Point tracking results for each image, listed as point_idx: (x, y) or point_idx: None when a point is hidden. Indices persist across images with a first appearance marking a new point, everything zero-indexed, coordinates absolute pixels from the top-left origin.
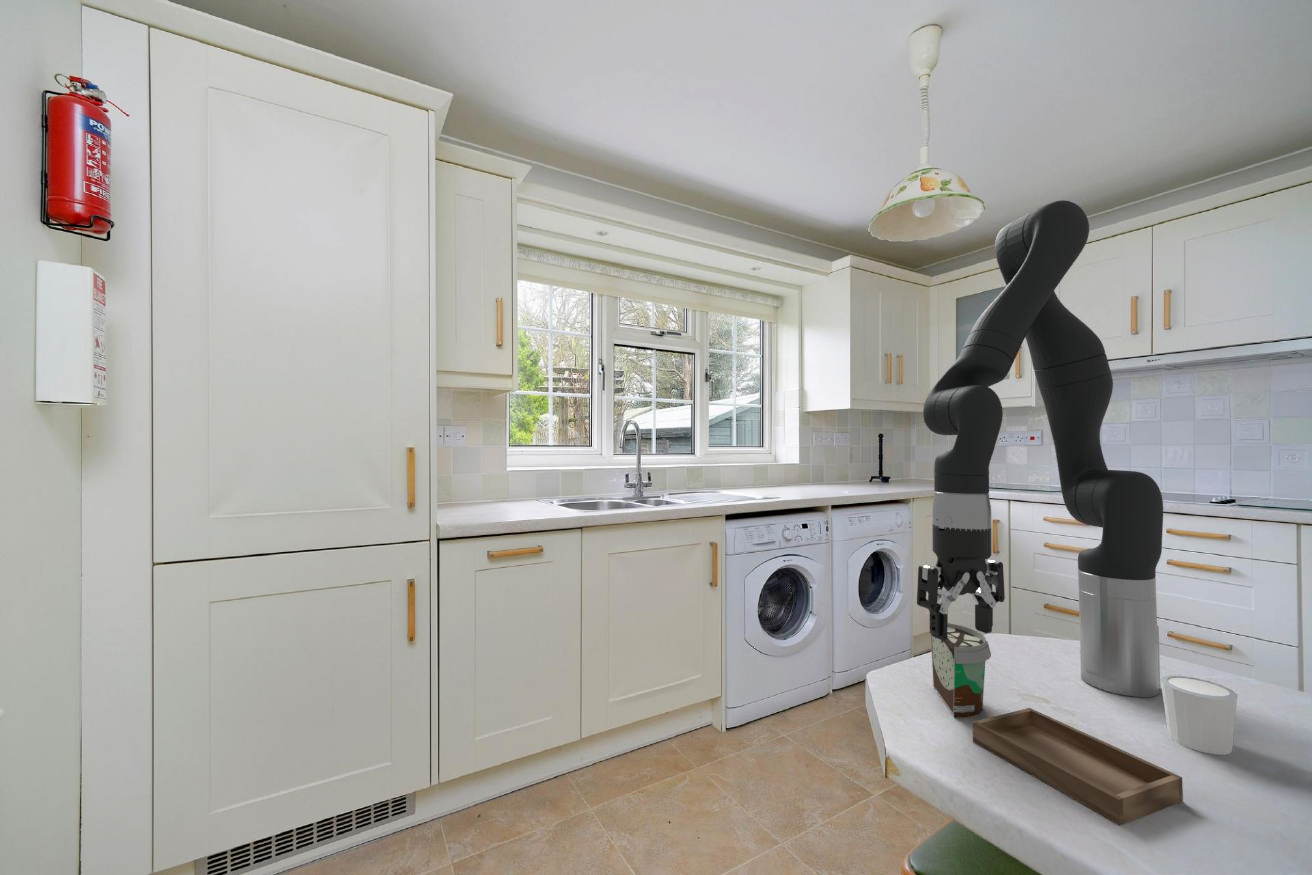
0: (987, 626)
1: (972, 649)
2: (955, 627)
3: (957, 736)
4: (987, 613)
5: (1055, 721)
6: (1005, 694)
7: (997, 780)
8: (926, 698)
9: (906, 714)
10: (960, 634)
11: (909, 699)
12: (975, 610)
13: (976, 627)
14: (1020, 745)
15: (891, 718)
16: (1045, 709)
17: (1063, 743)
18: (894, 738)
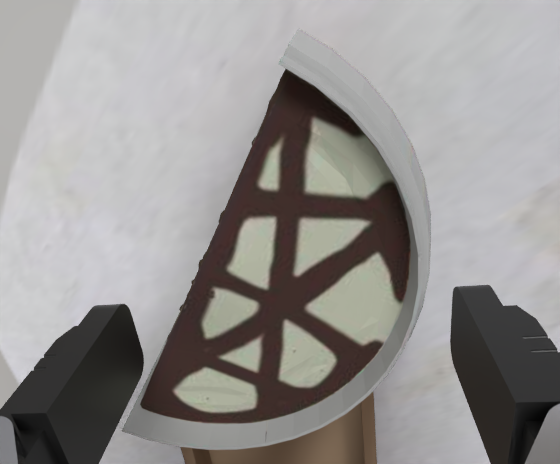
0: (460, 382)
1: (206, 439)
2: (392, 182)
3: (156, 317)
4: (491, 452)
5: (364, 429)
6: (500, 179)
7: (130, 434)
8: (210, 129)
9: (88, 199)
10: (352, 245)
11: (149, 120)
12: (494, 369)
13: (455, 296)
14: (191, 461)
15: (35, 206)
16: (511, 286)
17: (349, 419)
18: (2, 284)
